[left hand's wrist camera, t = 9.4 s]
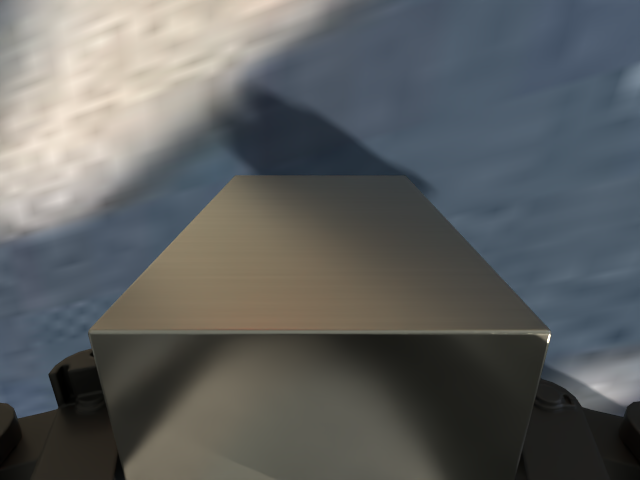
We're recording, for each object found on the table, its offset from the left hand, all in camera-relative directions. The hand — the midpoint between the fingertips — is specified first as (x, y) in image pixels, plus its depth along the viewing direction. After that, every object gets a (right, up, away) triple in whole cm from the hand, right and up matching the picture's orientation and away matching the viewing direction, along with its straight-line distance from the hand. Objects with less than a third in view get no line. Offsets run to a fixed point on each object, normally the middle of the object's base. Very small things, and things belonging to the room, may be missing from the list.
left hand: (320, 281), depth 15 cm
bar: (0, -8, +4) cm, 9 cm away
